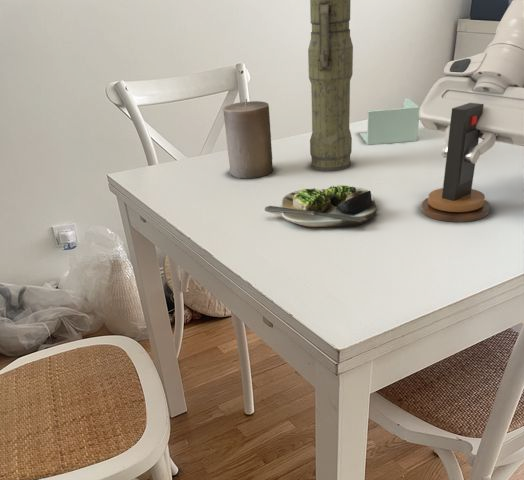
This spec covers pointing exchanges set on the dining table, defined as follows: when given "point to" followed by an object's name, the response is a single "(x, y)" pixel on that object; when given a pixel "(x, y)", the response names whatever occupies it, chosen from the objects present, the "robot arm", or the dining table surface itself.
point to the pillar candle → (248, 139)
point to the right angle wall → (393, 124)
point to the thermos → (330, 84)
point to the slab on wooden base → (460, 163)
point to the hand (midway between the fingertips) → (457, 158)
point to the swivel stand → (455, 213)
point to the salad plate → (327, 207)
